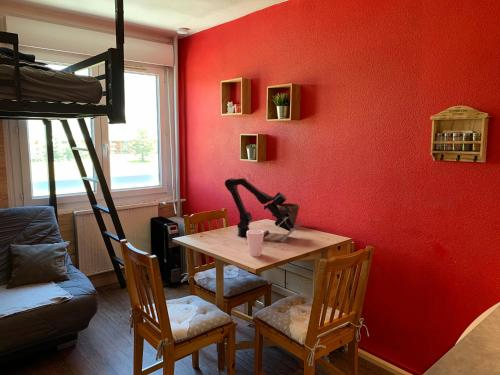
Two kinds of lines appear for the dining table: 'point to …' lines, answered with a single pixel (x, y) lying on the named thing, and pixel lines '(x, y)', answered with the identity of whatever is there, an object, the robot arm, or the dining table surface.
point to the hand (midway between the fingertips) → (291, 229)
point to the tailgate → (290, 231)
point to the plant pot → (293, 213)
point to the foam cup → (255, 242)
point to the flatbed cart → (272, 237)
